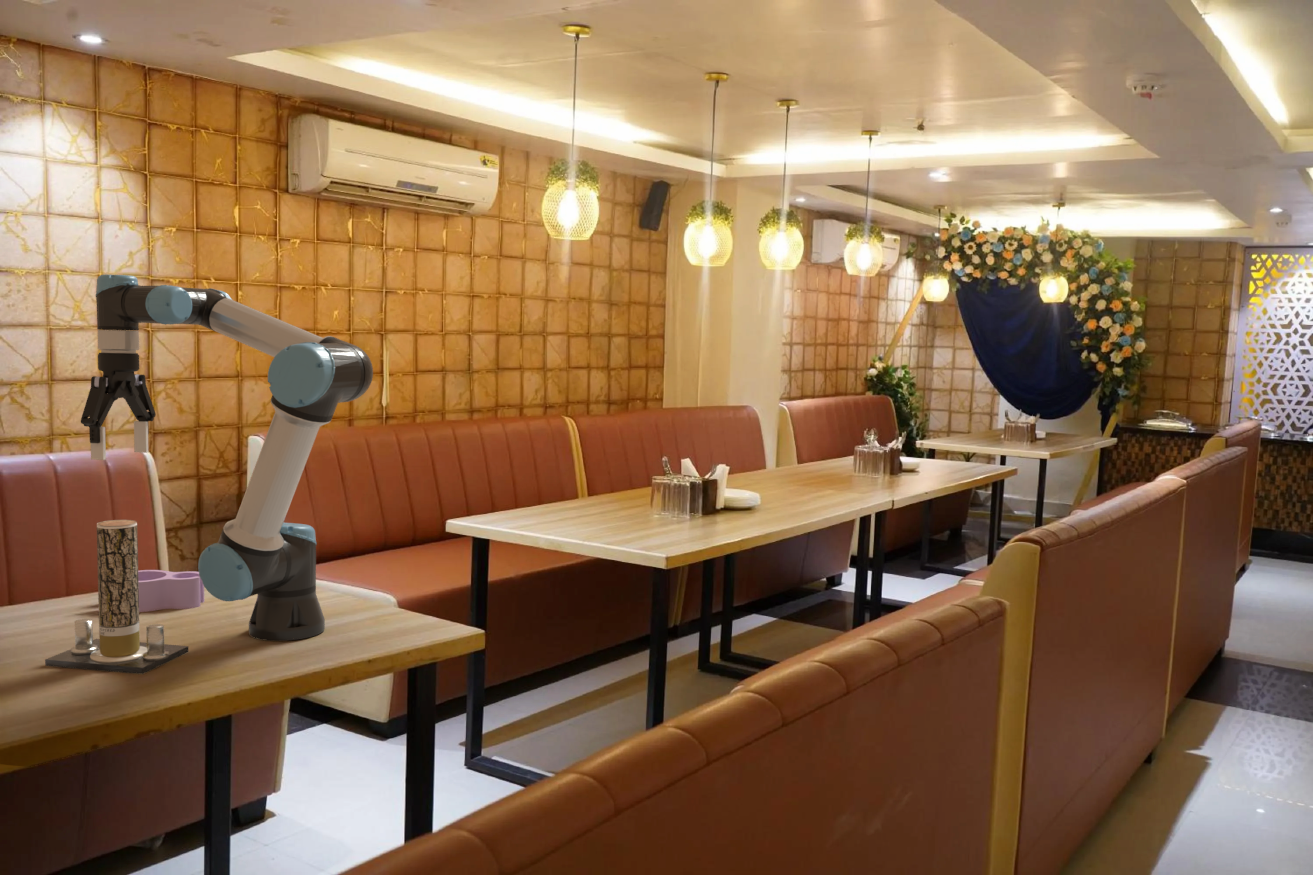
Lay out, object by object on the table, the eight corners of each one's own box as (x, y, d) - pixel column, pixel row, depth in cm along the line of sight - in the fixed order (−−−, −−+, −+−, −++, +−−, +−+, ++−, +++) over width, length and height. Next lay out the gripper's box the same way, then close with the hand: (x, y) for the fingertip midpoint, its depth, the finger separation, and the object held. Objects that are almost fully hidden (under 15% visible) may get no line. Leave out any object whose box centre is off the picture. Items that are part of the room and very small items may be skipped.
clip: (208, 597, 250) (208, 569, 250) (195, 611, 238) (195, 581, 238) (117, 599, 247) (116, 570, 246) (99, 613, 235) (98, 582, 234)
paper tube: (123, 659, 198) (120, 527, 195) (91, 656, 199) (88, 524, 197) (147, 649, 204) (145, 520, 202) (116, 646, 206) (113, 518, 203)
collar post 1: (102, 649, 205) (101, 618, 204) (86, 655, 200) (85, 624, 200) (82, 647, 205) (81, 617, 205) (65, 653, 201) (65, 622, 200)
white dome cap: (160, 648, 206) (160, 647, 206) (126, 664, 196) (126, 662, 196) (113, 645, 207) (113, 643, 207) (77, 660, 198) (77, 658, 198)
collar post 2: (173, 654, 202) (172, 624, 202) (159, 661, 198) (158, 630, 197) (152, 653, 203) (151, 622, 202) (137, 659, 199) (137, 628, 198)
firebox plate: (188, 652, 208) (188, 646, 208) (142, 674, 194) (142, 667, 194) (96, 644, 211) (96, 638, 211) (45, 665, 198) (45, 659, 198)
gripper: (140, 350, 228) (141, 448, 230) (58, 351, 203) (61, 461, 206) (172, 351, 227) (173, 450, 229) (94, 353, 202) (96, 463, 204)
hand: (120, 455), depth 217 cm, fingers open, 13 cm apart
